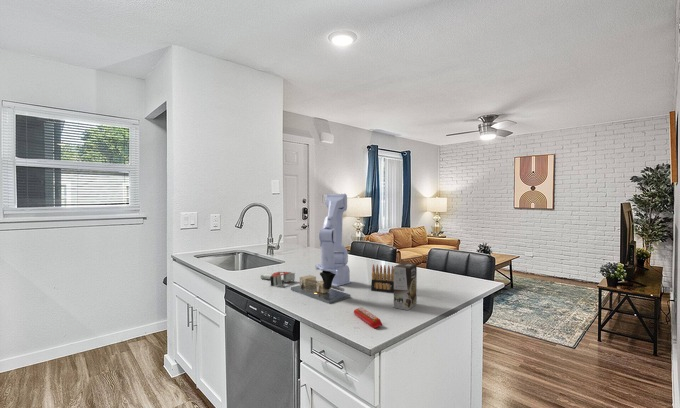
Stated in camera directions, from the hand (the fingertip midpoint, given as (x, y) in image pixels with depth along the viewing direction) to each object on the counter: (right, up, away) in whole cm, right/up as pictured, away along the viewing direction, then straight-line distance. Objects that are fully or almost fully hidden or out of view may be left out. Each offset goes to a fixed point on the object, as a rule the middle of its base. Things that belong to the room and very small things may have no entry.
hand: (327, 288), depth 144 cm
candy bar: (+14, -5, -28) cm, 31 cm away
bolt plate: (-4, -3, +5) cm, 7 cm away
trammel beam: (-3, -2, +5) cm, 7 cm away
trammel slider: (-2, -2, +2) cm, 4 cm away
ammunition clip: (+24, -3, +8) cm, 26 cm away
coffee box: (+31, -4, -12) cm, 33 cm away
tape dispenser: (-26, -4, +26) cm, 37 cm away
